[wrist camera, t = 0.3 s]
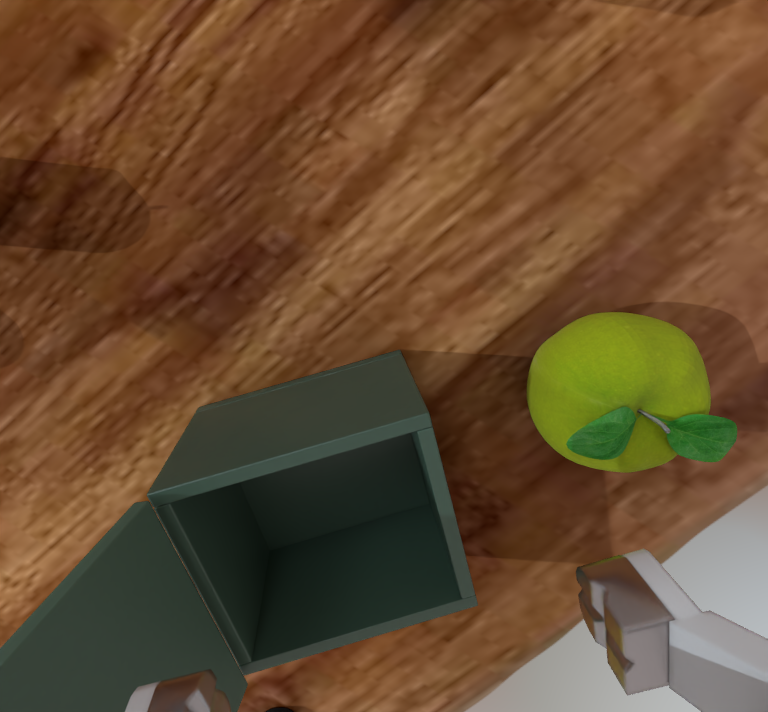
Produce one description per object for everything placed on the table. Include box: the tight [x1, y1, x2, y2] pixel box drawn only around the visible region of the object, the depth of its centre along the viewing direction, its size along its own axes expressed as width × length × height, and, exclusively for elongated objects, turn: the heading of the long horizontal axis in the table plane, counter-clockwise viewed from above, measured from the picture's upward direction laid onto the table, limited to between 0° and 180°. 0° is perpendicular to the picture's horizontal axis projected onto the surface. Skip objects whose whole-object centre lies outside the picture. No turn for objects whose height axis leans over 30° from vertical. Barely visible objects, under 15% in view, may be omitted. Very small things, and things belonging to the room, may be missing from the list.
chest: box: [147, 350, 478, 675], centre depth 28 cm, size 14×13×9 cm
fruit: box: [527, 312, 737, 472], centre depth 27 cm, size 9×9×10 cm
